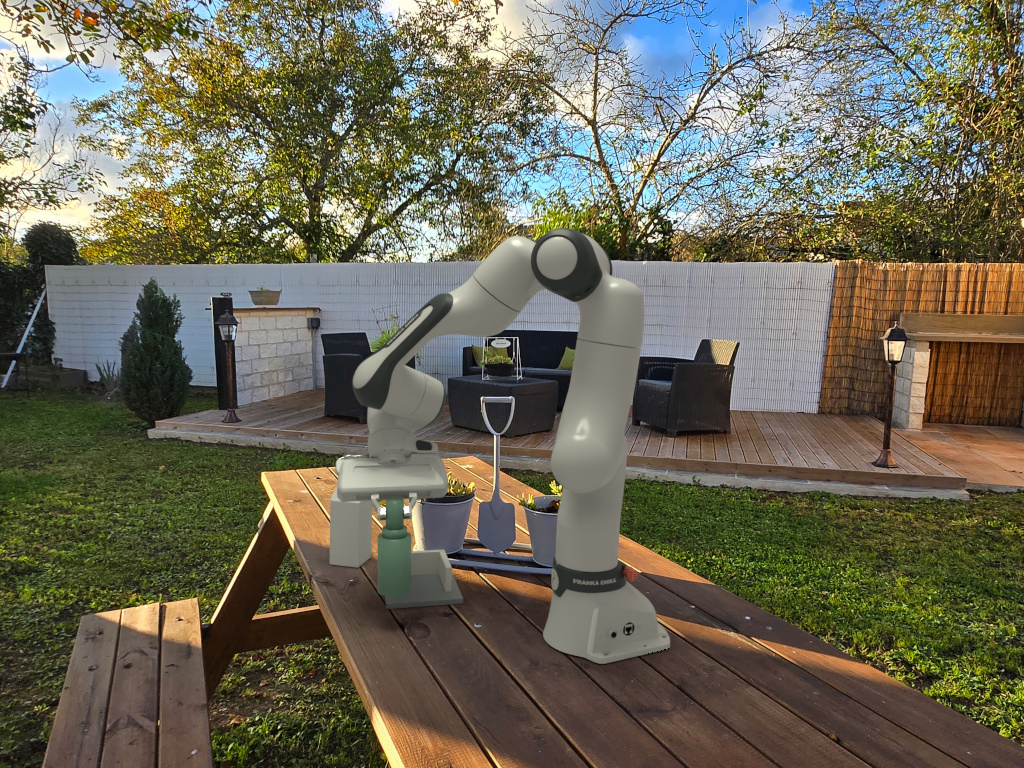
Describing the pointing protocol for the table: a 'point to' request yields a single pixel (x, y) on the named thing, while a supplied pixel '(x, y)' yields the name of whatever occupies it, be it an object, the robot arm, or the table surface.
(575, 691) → the table surface
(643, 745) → the table surface
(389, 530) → the bottle
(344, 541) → the milk carton
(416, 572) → the bottle holder
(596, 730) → the table surface
